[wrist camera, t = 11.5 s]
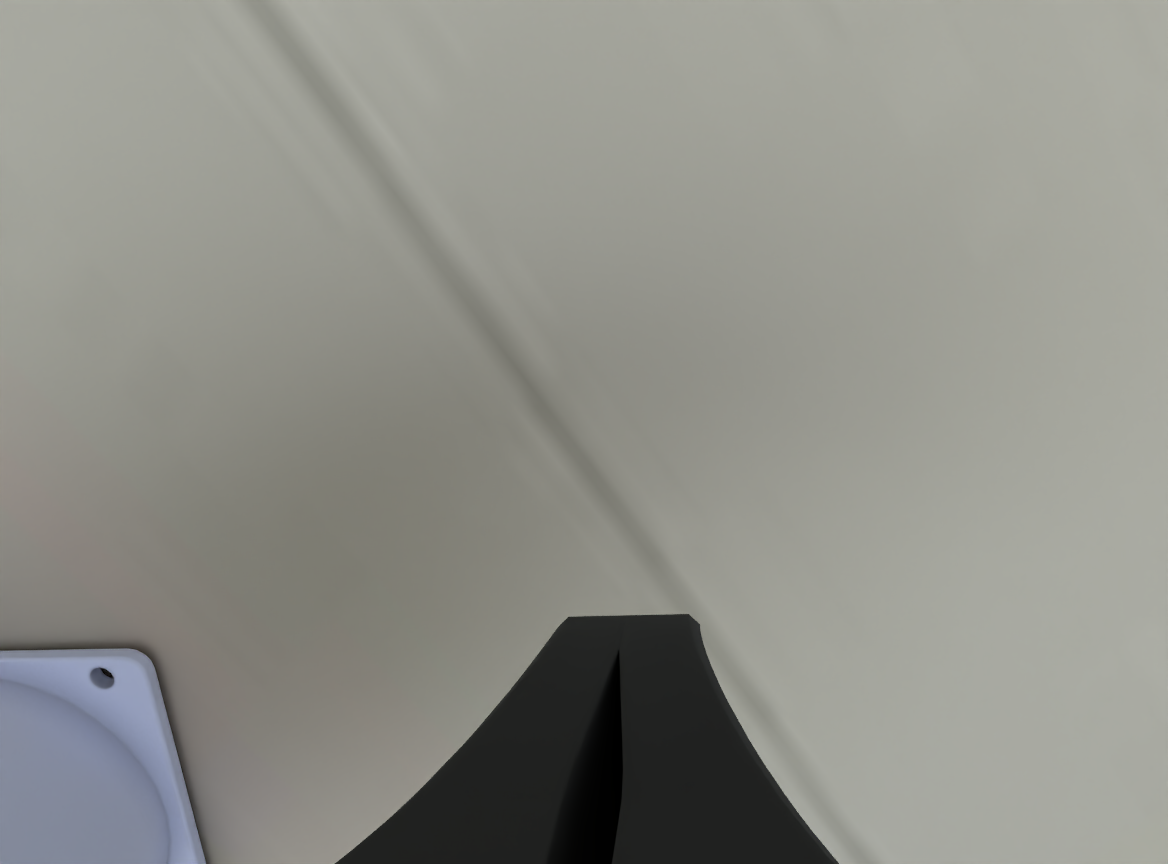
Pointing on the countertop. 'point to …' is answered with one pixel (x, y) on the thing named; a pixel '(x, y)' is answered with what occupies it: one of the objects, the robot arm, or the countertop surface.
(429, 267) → the countertop surface
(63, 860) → the robot arm
